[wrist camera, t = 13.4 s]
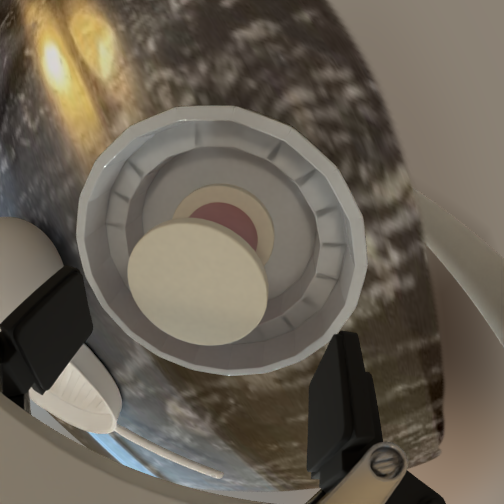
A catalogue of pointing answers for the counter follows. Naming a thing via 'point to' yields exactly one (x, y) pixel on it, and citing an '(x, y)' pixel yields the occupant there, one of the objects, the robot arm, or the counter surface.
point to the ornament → (23, 262)
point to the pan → (98, 404)
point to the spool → (206, 266)
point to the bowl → (260, 185)
